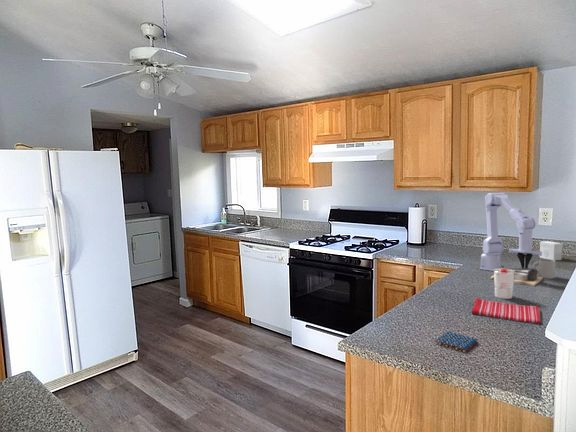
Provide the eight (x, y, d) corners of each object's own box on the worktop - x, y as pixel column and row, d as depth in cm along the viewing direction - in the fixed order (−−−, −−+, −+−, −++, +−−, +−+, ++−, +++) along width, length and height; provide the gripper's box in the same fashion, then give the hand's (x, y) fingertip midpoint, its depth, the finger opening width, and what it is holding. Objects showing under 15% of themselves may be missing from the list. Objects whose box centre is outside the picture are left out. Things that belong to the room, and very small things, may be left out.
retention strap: (498, 271, 208) (498, 267, 208) (500, 270, 210) (500, 266, 210) (532, 272, 197) (532, 268, 197) (534, 271, 199) (533, 267, 199)
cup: (554, 279, 201) (555, 262, 200) (531, 277, 207) (532, 260, 206) (555, 276, 207) (556, 259, 206) (533, 274, 213) (533, 257, 212)
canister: (505, 300, 171) (506, 274, 170) (487, 295, 179) (488, 270, 177) (519, 297, 176) (520, 270, 174) (501, 292, 183) (502, 267, 182)
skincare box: (562, 260, 243) (562, 243, 242) (553, 260, 241) (554, 244, 240) (547, 256, 253) (548, 240, 252) (539, 257, 251) (539, 241, 250)
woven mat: (447, 335, 138) (447, 329, 138) (478, 344, 131) (479, 338, 130) (433, 344, 131) (433, 339, 131) (465, 354, 124) (466, 348, 123)
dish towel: (475, 303, 171) (475, 297, 171) (540, 311, 159) (540, 305, 158) (470, 315, 157) (470, 309, 156) (540, 326, 144) (540, 319, 144)
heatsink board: (490, 279, 205) (490, 268, 205) (500, 273, 216) (500, 262, 216) (534, 286, 191) (534, 274, 190) (542, 279, 202) (543, 268, 202)
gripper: (507, 241, 201) (506, 267, 203) (539, 244, 191) (538, 271, 192) (511, 239, 206) (510, 264, 208) (543, 242, 196) (542, 268, 197)
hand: (524, 267), depth 200 cm, fingers closed, pressing on retention strap
